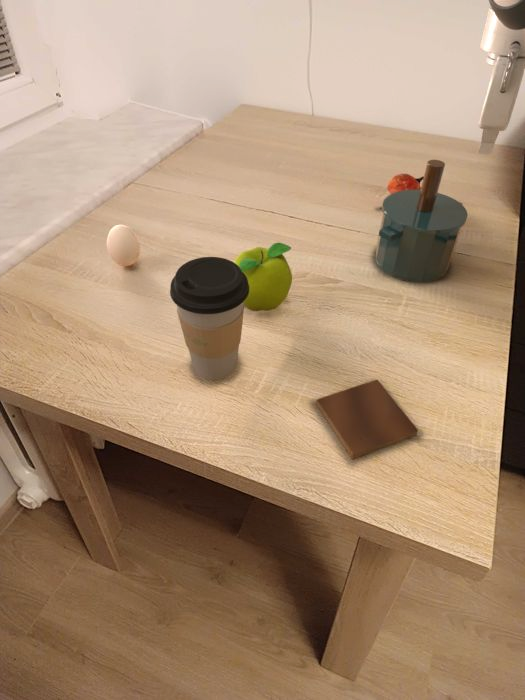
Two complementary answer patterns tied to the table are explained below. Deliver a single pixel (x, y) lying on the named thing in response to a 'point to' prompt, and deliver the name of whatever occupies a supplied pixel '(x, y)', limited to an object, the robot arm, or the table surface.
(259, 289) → the fruit
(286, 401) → the table surface
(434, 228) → the lid
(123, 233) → the egg
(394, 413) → the plate
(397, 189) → the pomegranate
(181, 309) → the coffee cup
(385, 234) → the pot
